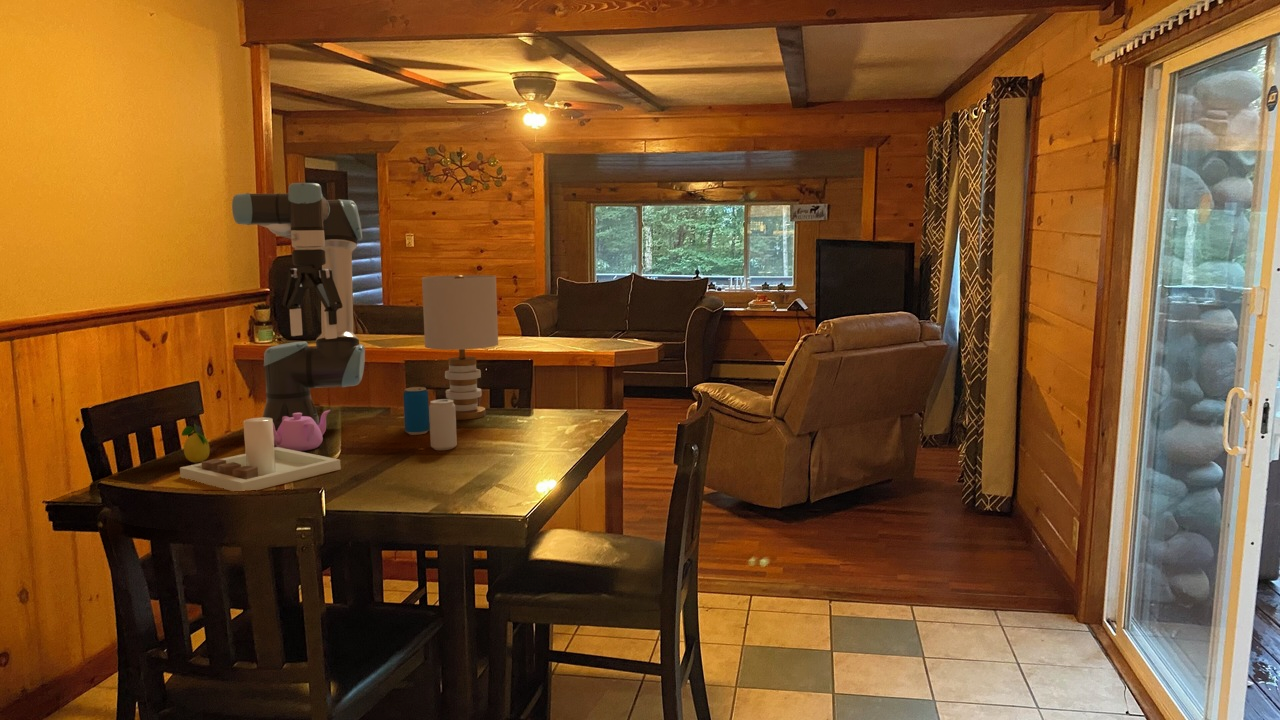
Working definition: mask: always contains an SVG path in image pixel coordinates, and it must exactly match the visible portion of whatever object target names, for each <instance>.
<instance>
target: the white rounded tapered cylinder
mask: <svg viewBox="0 0 1280 720" xmlns="http://www.w3.org/2000/svg"><path fill="white" fill-rule="evenodd" d="M242 422H243V437H244V438H243V439H244V450H245V453H244V454H246V466H251V467H258V476H263V475H267V474H271V473H275V472H276V465H275V450H274V447H275V443H274V434H273V419H272V418H265V417H263V418H262V417H252V418H247V419H244V420H243V421H242Z"/></svg>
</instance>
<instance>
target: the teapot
mask: <svg viewBox="0 0 1280 720" xmlns="http://www.w3.org/2000/svg"><path fill="white" fill-rule="evenodd" d="M330 412H331V409H327V410H325V411H323V412H322V413H321V415H320V420H319V424H318V425H317V424H316V422H315V421H314V420H313V419H312V418H311V417H307V416H302V413H293V414H292V415H293V417H290V418H289V417H288V416H284V417H282V423H281V424H280V426H279V428H278V430H277V431H276V430H275V426H274V423H273V434H274V446H275V447H280V448H285V449H290V450H295V451H300V452H305V451H310V450H315V449H317V448H319V447H320V446H321V444H322V443H323V440H324V438H323V435H324V434H325V432H326V429H327V416H328V414H329V413H330Z"/></svg>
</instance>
